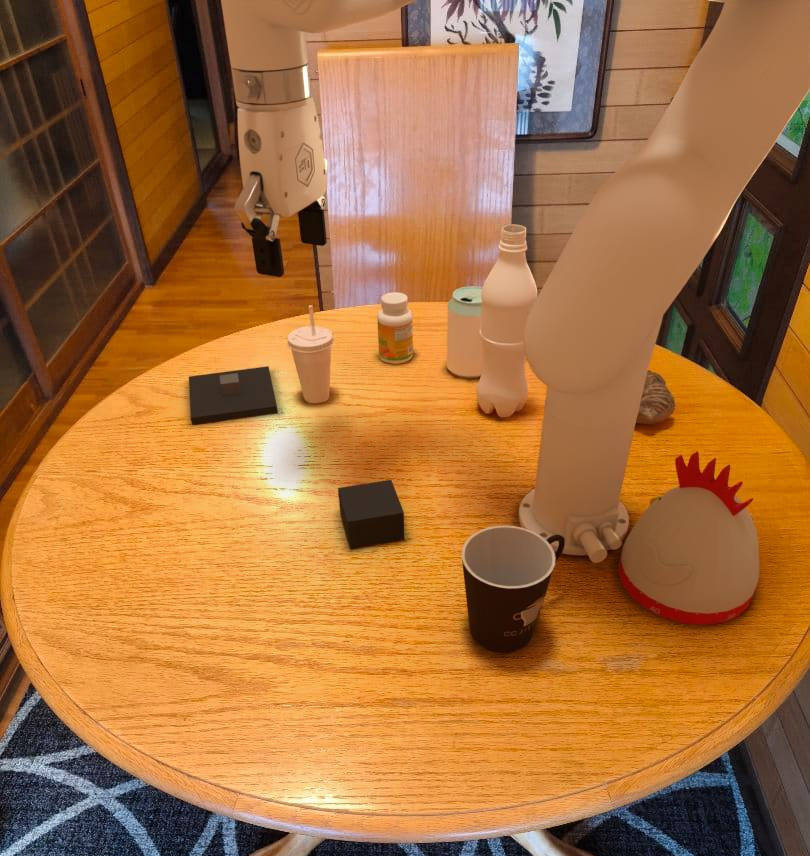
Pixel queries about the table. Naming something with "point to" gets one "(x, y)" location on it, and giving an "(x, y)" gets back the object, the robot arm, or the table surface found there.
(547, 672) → the table surface
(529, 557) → the coffee mug
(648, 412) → the seashell
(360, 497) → the top pad
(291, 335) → the smoothie
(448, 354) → the can
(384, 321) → the supplement bottle
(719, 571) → the kitchen timer
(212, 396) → the base pad
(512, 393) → the water bottle
